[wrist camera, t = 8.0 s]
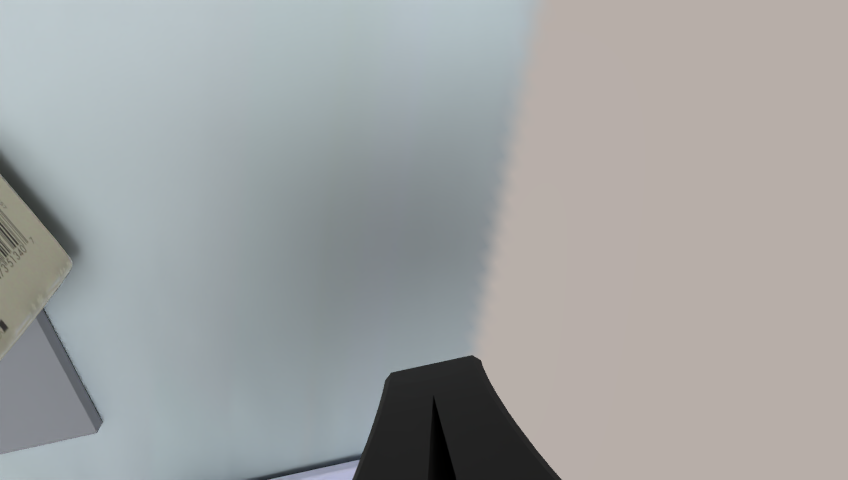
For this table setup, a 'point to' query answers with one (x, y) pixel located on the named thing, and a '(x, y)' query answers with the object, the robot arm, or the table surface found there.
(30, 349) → the mat
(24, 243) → the box
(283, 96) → the table surface
